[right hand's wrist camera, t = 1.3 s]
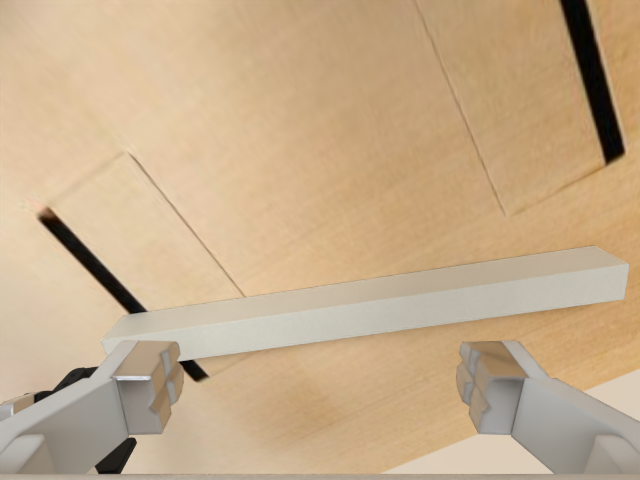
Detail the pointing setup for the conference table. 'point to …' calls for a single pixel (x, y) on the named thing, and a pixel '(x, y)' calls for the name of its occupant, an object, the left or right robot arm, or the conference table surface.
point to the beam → (382, 304)
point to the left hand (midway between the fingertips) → (106, 407)
